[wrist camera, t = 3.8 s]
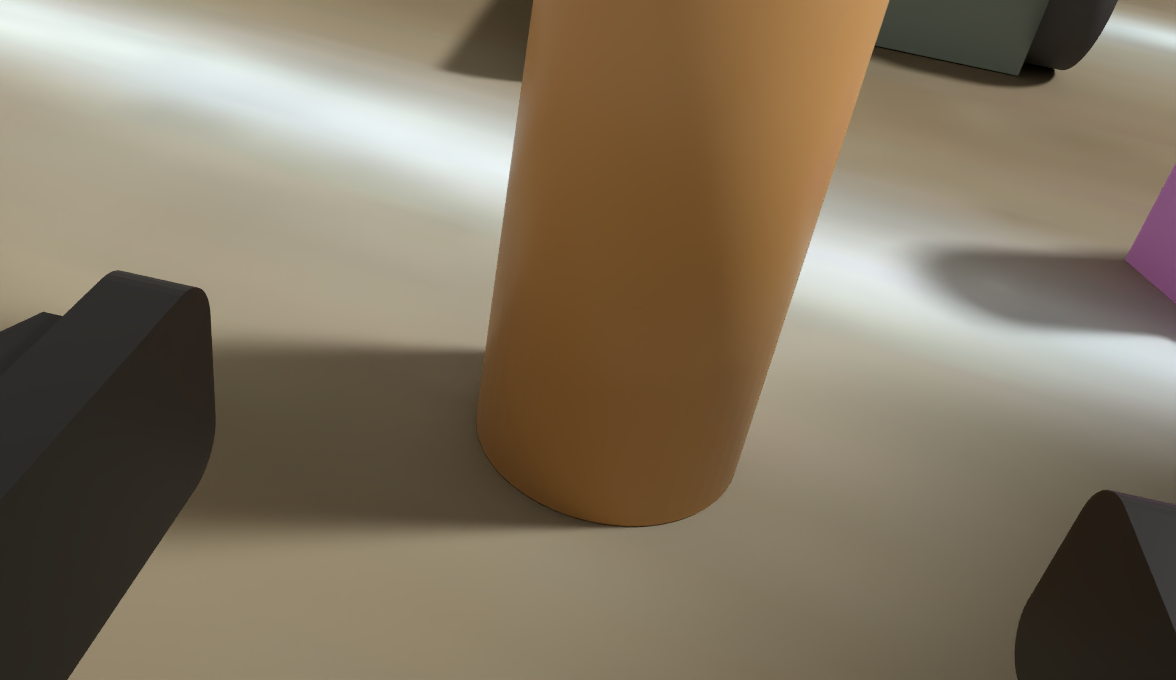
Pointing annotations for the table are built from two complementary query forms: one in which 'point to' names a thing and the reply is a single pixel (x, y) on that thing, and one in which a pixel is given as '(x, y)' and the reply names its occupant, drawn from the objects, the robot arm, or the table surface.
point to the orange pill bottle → (657, 239)
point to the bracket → (1158, 242)
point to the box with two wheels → (996, 31)
